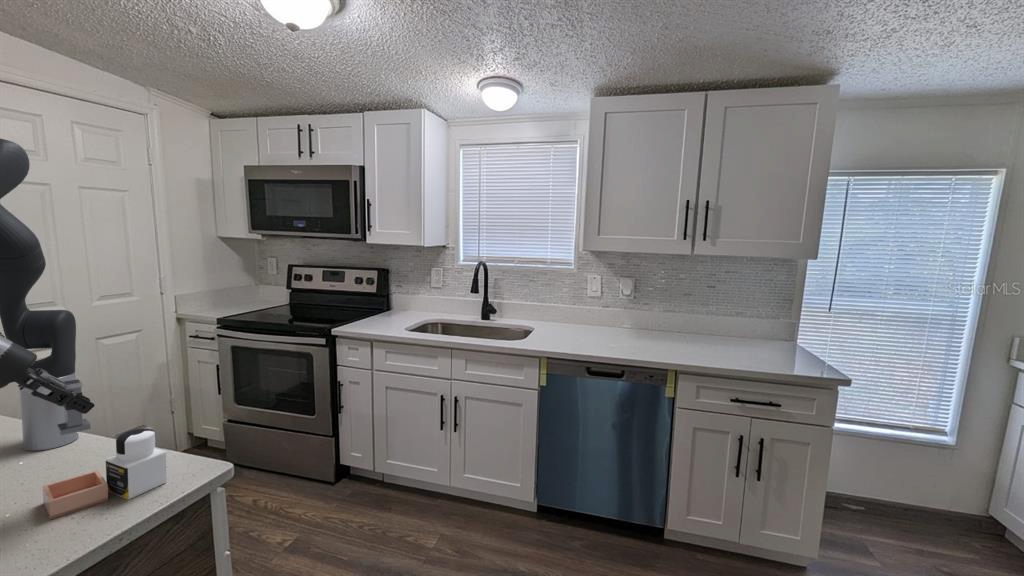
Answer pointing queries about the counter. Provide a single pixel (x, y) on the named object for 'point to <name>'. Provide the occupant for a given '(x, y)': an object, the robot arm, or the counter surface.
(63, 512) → the tray
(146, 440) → the medicine bottle
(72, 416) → the metal pedestal tower
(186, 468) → the counter surface
